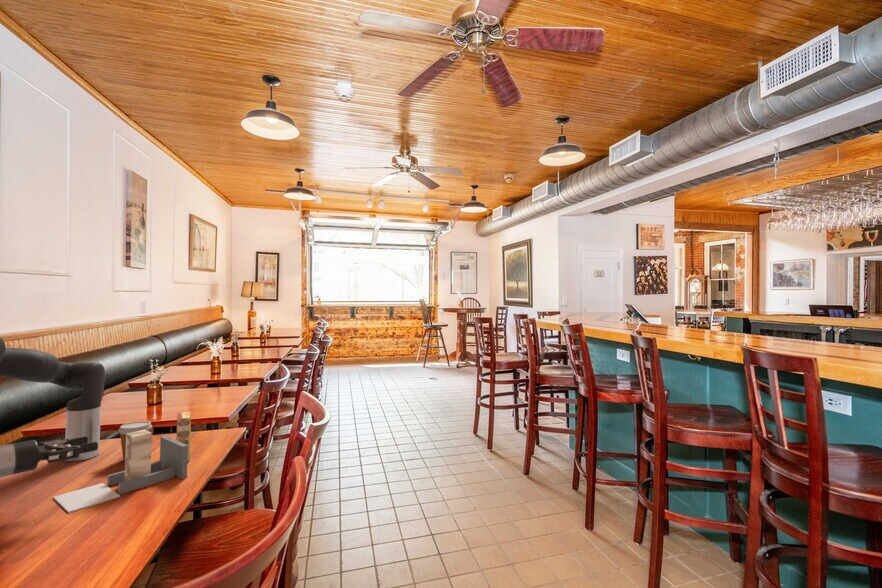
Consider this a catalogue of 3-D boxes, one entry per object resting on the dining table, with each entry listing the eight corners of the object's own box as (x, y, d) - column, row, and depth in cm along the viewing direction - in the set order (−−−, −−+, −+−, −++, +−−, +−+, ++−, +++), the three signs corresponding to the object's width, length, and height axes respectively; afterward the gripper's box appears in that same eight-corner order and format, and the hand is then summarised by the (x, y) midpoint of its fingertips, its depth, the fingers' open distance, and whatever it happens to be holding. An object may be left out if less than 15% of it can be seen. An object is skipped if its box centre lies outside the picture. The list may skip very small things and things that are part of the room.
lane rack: (103, 482, 123) (104, 449, 124) (164, 465, 137) (165, 435, 137) (123, 497, 114) (124, 461, 115) (186, 477, 128) (187, 445, 128)
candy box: (190, 461, 141) (191, 416, 141) (175, 463, 139) (177, 418, 139) (189, 453, 148) (190, 411, 149) (175, 455, 146) (176, 412, 146)
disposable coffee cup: (156, 457, 144) (157, 423, 144) (124, 466, 136) (125, 430, 136) (144, 452, 149) (145, 419, 149) (112, 460, 141) (113, 425, 141)
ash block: (124, 483, 123) (126, 433, 124) (143, 477, 127) (145, 429, 128) (130, 487, 120) (132, 436, 121) (150, 481, 124) (151, 432, 125)
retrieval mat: (53, 498, 113) (53, 496, 113) (102, 484, 122) (102, 482, 122) (68, 513, 105) (68, 511, 105) (120, 497, 114) (120, 495, 114)
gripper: (17, 450, 98) (101, 433, 111) (4, 439, 106) (84, 425, 119) (15, 481, 97) (100, 461, 111) (2, 468, 105) (83, 451, 119)
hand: (92, 442), depth 115 cm, fingers open, 8 cm apart
